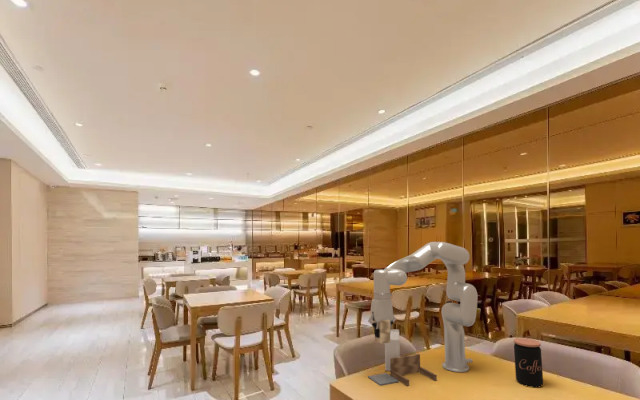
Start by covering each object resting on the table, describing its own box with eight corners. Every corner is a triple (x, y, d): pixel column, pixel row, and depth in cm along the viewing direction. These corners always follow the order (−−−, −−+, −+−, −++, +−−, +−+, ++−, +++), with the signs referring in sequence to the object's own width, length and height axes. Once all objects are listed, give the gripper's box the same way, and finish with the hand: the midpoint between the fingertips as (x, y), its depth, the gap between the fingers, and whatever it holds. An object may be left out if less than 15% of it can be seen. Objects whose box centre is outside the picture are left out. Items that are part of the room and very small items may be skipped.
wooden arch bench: (418, 371, 170) (418, 353, 171) (436, 380, 158) (436, 362, 159) (390, 375, 163) (390, 358, 164) (407, 386, 152) (406, 367, 153)
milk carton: (400, 372, 168) (399, 331, 171) (385, 370, 170) (384, 330, 172) (399, 366, 175) (398, 327, 178) (385, 365, 177) (384, 327, 179)
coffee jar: (518, 385, 153) (515, 343, 155) (513, 377, 163) (511, 337, 165) (546, 389, 149) (543, 346, 151) (540, 380, 159) (537, 339, 161)
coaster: (386, 374, 165) (386, 373, 165) (398, 382, 156) (398, 380, 156) (368, 377, 161) (368, 376, 162) (379, 385, 152) (379, 384, 152)
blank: (384, 339, 164) (383, 317, 165) (390, 342, 159) (389, 320, 161) (375, 340, 162) (374, 318, 163) (380, 343, 157) (380, 320, 159)
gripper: (392, 294, 170) (393, 332, 168) (362, 296, 163) (362, 336, 161) (401, 296, 163) (402, 336, 161) (370, 298, 156) (370, 340, 154)
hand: (382, 336), depth 161 cm, fingers closed on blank, 5 cm apart
